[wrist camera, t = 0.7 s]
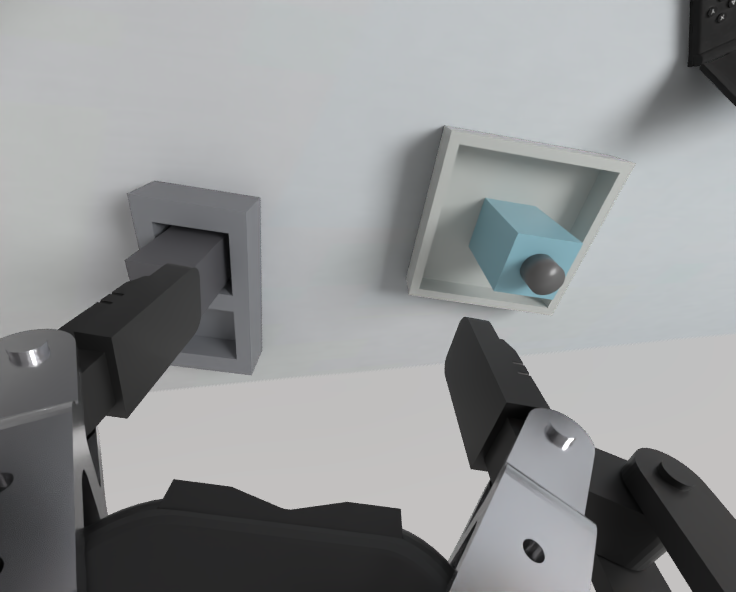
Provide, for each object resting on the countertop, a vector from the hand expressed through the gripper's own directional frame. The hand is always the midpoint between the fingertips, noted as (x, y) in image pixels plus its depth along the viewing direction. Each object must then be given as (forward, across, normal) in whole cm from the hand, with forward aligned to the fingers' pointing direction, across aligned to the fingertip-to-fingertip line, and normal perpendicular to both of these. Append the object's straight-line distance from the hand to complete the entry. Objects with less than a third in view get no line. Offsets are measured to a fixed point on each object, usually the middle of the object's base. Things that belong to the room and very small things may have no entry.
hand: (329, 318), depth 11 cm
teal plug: (+18, -12, 0) cm, 21 cm away
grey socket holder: (+19, +11, +10) cm, 24 cm away
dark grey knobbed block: (+18, +11, +6) cm, 22 cm away
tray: (+18, -12, 0) cm, 22 cm away
